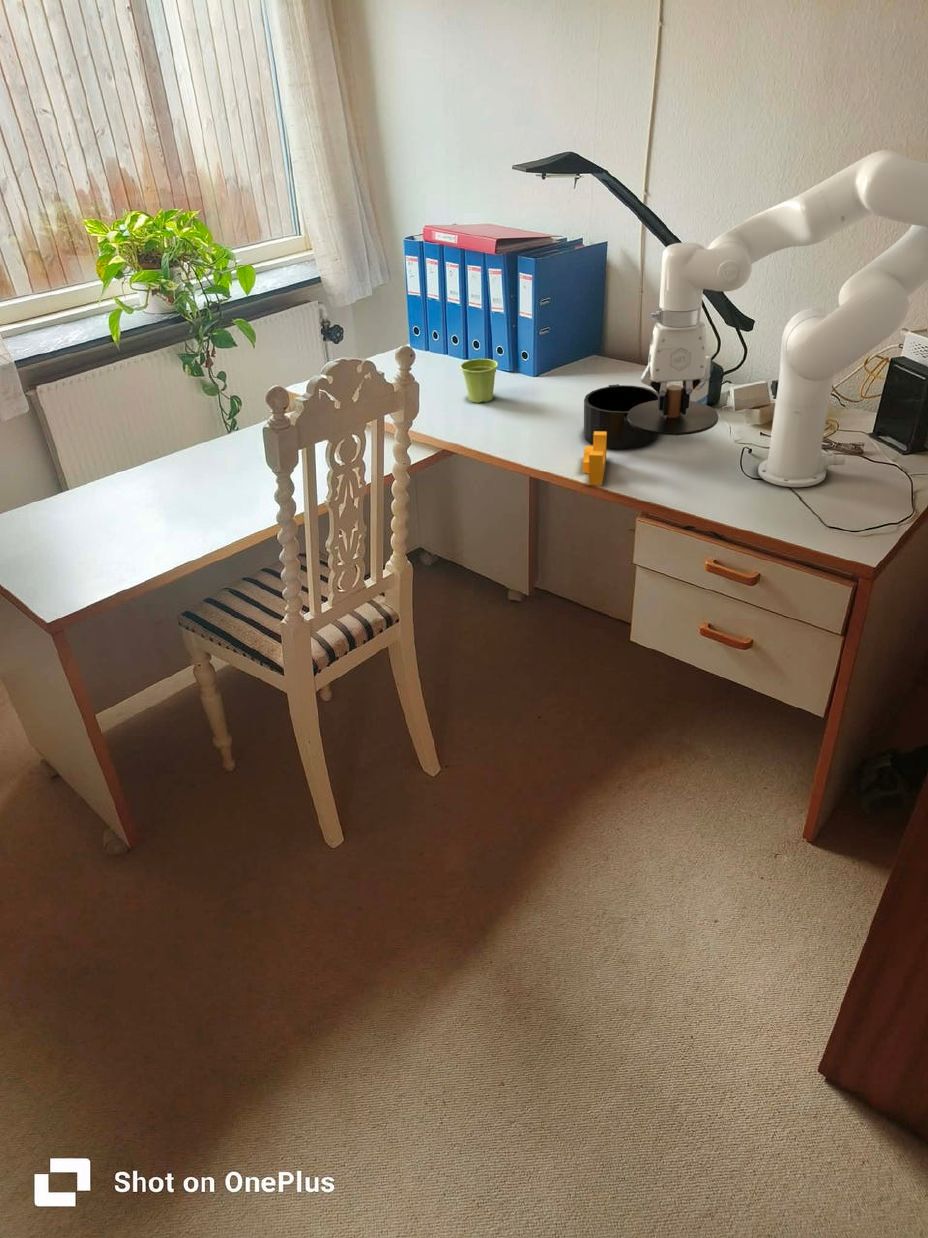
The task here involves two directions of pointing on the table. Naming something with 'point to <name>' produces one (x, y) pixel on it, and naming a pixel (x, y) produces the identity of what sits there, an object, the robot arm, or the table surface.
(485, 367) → the plant pot
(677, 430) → the lid
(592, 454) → the orange stepped block
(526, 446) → the table surface
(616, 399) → the pot
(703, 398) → the ink box
